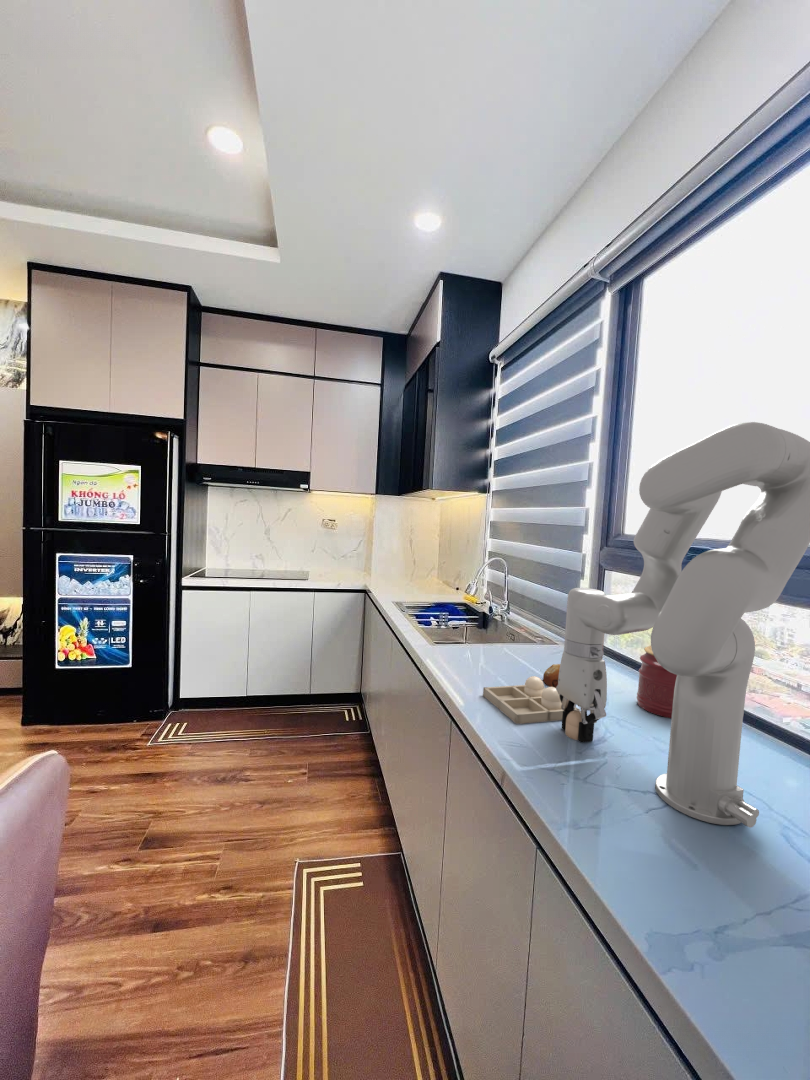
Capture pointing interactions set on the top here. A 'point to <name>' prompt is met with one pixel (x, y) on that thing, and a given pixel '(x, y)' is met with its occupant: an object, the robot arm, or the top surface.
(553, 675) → the bread roll
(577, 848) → the top surface
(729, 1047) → the top surface
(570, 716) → the brown egg
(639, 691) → the canister
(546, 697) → the pale egg
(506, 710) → the egg tray
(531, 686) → the pale egg
